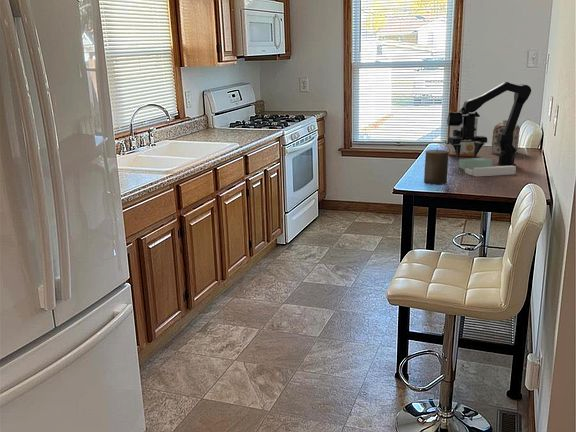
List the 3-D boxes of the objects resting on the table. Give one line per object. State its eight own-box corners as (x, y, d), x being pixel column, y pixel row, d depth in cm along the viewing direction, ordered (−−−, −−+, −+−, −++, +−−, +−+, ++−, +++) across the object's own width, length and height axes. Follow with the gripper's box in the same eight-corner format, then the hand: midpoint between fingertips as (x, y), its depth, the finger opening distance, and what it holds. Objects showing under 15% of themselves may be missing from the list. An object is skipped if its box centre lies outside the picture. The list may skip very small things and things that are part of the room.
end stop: (505, 170, 271) (505, 163, 270) (516, 174, 262) (516, 166, 261) (464, 172, 266) (465, 165, 265) (474, 176, 258) (475, 169, 257)
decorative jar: (490, 153, 314) (493, 120, 309) (496, 150, 323) (499, 118, 318) (512, 155, 308) (516, 122, 303) (518, 152, 317) (521, 120, 312)
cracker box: (475, 154, 311) (478, 116, 305) (475, 156, 305) (478, 117, 299) (448, 153, 315) (451, 115, 309) (448, 155, 309) (450, 116, 304)
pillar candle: (447, 185, 242) (450, 150, 238) (424, 184, 244) (426, 149, 240) (445, 180, 251) (448, 146, 247) (423, 179, 253) (425, 146, 249)
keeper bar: (485, 166, 281) (486, 157, 279) (491, 169, 275) (492, 160, 274) (458, 167, 279) (459, 158, 278) (463, 170, 273) (464, 161, 272)
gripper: (477, 123, 289) (474, 153, 294) (443, 124, 286) (441, 155, 290) (489, 125, 279) (486, 157, 283) (454, 127, 275) (452, 159, 279)
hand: (466, 157), depth 284 cm, fingers open, 9 cm apart
